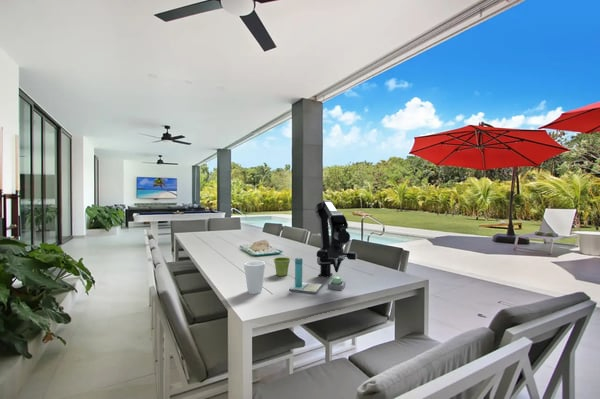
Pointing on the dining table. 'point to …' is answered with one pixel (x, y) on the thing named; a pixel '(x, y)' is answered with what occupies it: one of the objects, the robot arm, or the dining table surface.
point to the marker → (298, 272)
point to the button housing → (336, 285)
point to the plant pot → (281, 265)
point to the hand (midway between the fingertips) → (336, 272)
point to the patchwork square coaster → (307, 288)
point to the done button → (336, 280)
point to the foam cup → (254, 276)
